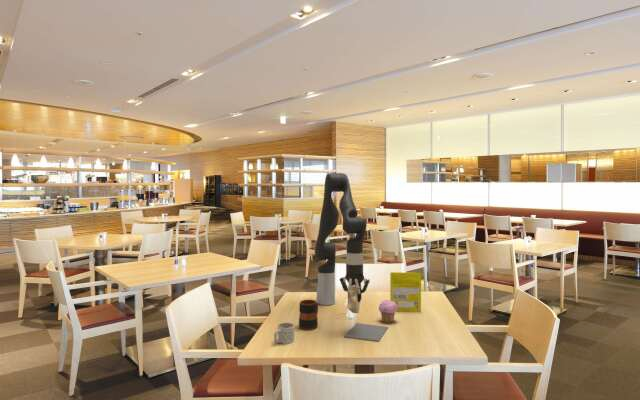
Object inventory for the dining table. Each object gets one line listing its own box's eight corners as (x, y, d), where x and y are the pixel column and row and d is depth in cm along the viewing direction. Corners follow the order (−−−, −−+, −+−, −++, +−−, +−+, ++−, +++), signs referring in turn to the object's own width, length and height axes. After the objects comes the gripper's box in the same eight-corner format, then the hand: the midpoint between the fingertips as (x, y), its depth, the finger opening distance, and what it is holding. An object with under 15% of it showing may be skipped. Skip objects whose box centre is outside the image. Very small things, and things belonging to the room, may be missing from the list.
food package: (420, 311, 219) (420, 272, 218) (421, 312, 218) (421, 273, 217) (390, 310, 220) (390, 272, 220) (390, 311, 219) (390, 272, 218)
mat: (344, 337, 184) (344, 336, 184) (356, 324, 201) (356, 322, 201) (378, 341, 178) (378, 340, 178) (388, 327, 195) (388, 326, 195)
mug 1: (285, 336, 185) (285, 321, 185) (297, 340, 181) (297, 324, 180) (268, 343, 177) (268, 327, 177) (280, 347, 173) (280, 331, 173)
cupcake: (380, 317, 210) (380, 297, 209) (398, 319, 207) (398, 298, 207) (377, 323, 202) (377, 302, 201) (395, 325, 199) (395, 303, 198)
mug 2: (325, 324, 201) (325, 299, 200) (310, 331, 191) (310, 305, 190) (309, 320, 206) (309, 296, 205) (295, 328, 196) (294, 302, 195)
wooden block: (346, 308, 186) (350, 285, 190) (351, 312, 192) (354, 290, 197) (354, 308, 185) (357, 286, 189) (358, 313, 191) (361, 291, 196)
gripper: (336, 263, 189) (336, 302, 190) (367, 265, 184) (367, 305, 185) (342, 260, 196) (342, 297, 197) (372, 262, 191) (372, 300, 192)
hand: (354, 301), depth 191 cm, fingers closed on wooden block, 3 cm apart
